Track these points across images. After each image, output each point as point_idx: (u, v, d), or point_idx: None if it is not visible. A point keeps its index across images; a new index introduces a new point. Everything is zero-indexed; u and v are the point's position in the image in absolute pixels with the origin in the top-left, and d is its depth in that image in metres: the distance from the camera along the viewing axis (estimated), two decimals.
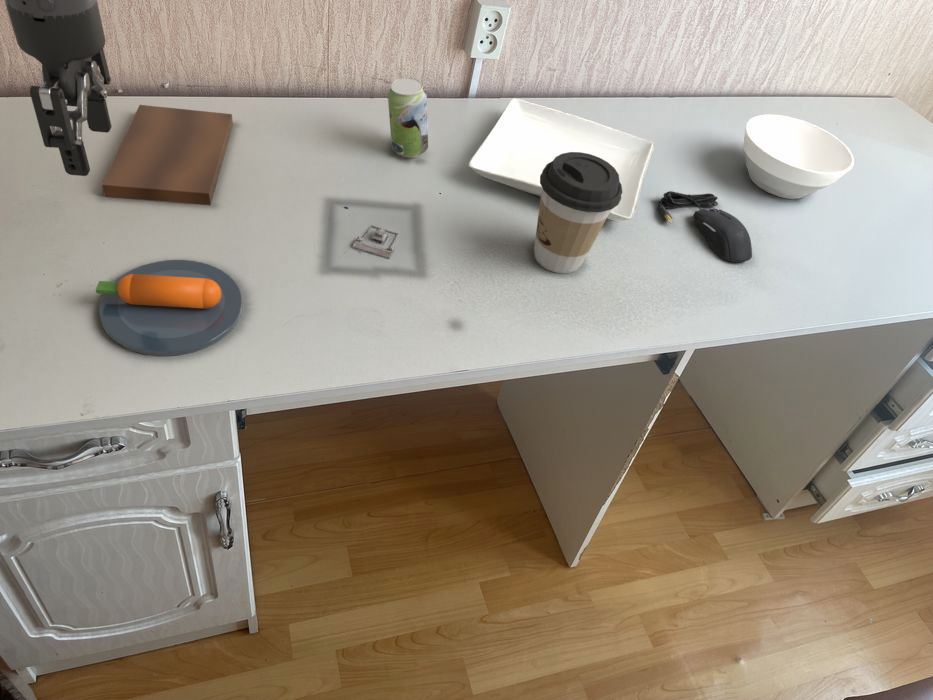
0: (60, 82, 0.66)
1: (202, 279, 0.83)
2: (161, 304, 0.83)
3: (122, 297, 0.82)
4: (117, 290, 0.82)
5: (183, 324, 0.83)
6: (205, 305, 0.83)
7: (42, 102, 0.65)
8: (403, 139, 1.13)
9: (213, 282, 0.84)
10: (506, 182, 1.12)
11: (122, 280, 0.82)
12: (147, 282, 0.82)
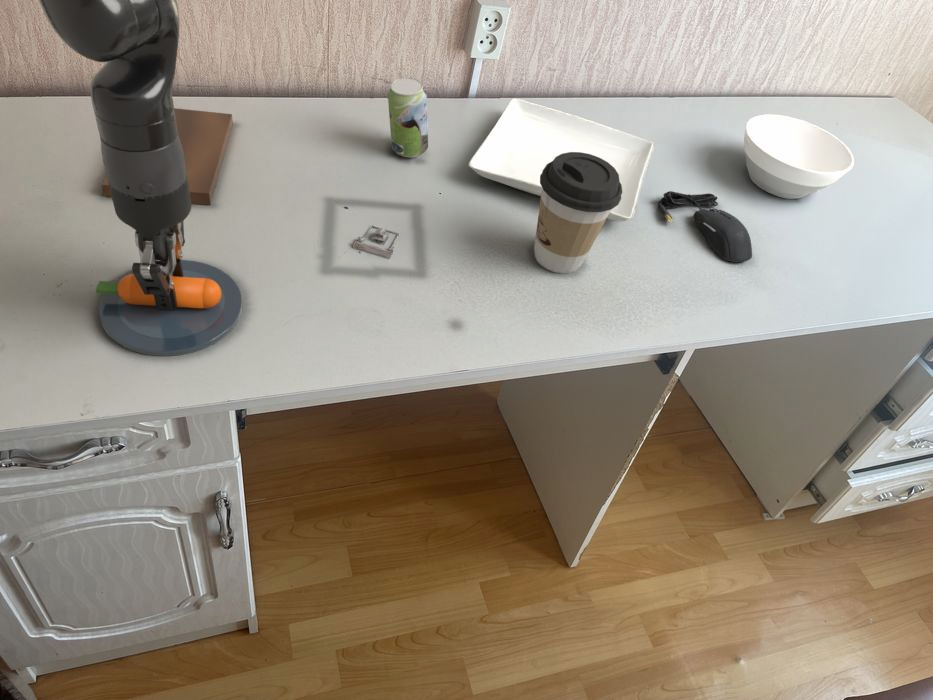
0: (153, 247, 0.74)
1: (202, 279, 0.83)
2: None
3: (122, 297, 0.82)
4: (117, 290, 0.82)
5: (183, 324, 0.83)
6: (205, 305, 0.83)
7: (143, 276, 0.73)
8: (403, 139, 1.13)
9: (213, 282, 0.84)
10: (506, 182, 1.12)
11: (122, 280, 0.82)
12: None
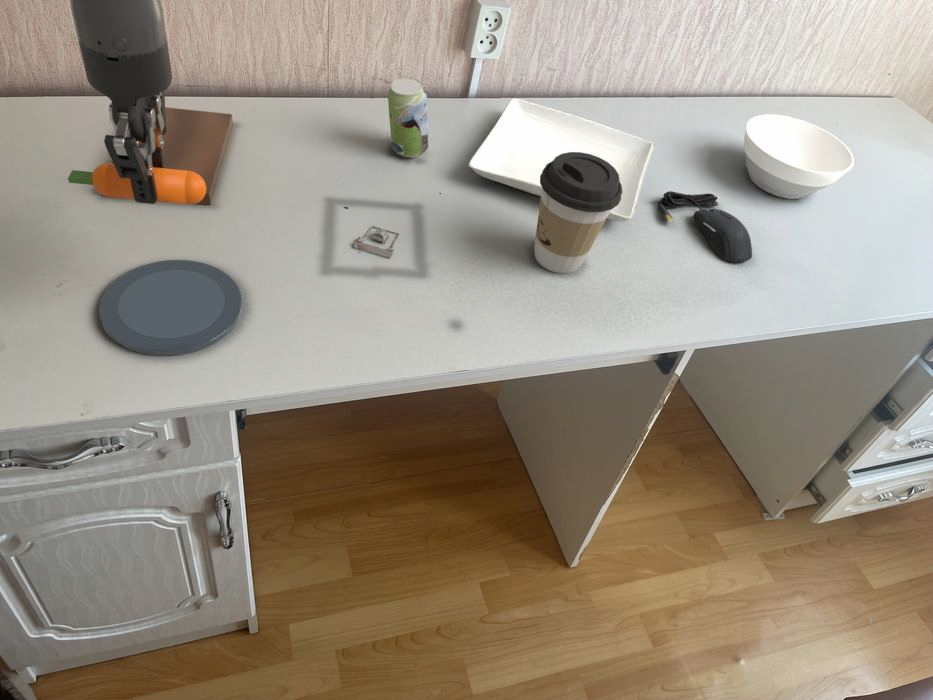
0: (129, 119, 0.66)
1: (185, 171, 0.76)
2: None
3: (97, 187, 0.75)
4: (91, 179, 0.75)
5: (183, 324, 0.83)
6: (188, 199, 0.76)
7: (117, 151, 0.66)
8: (403, 139, 1.13)
9: (197, 175, 0.77)
10: (506, 182, 1.12)
11: (97, 168, 0.74)
12: None
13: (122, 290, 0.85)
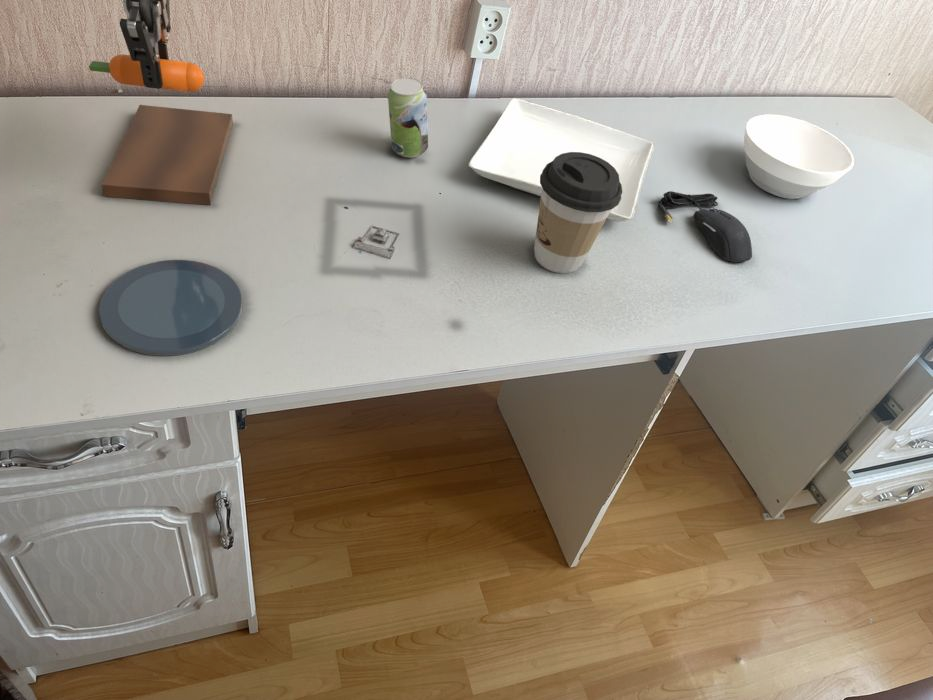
0: (139, 6, 0.81)
1: (186, 62, 0.91)
2: None
3: (113, 74, 0.90)
4: (108, 67, 0.90)
5: (183, 324, 0.83)
6: (188, 85, 0.91)
7: (130, 32, 0.81)
8: (403, 139, 1.13)
9: (196, 65, 0.92)
10: (506, 182, 1.12)
11: (113, 58, 0.89)
12: None
13: (122, 290, 0.85)
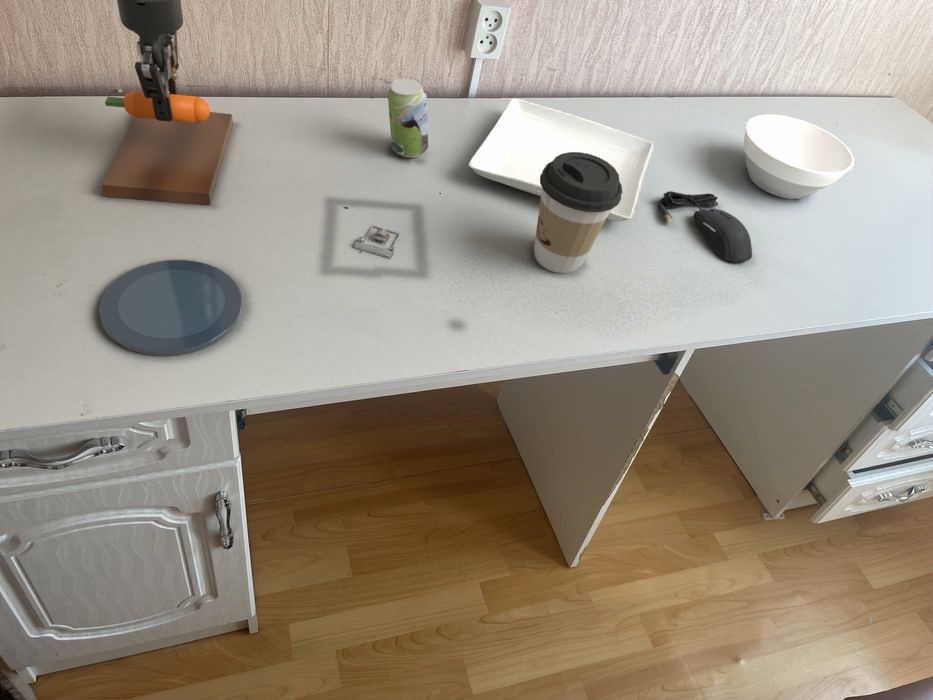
0: (152, 50, 0.90)
1: (193, 96, 1.00)
2: None
3: (127, 108, 0.98)
4: (123, 103, 0.98)
5: (183, 324, 0.83)
6: (196, 118, 1.00)
7: (144, 74, 0.90)
8: (403, 139, 1.13)
9: (203, 99, 1.00)
10: (506, 182, 1.12)
11: (127, 94, 0.98)
12: None
13: (122, 290, 0.85)
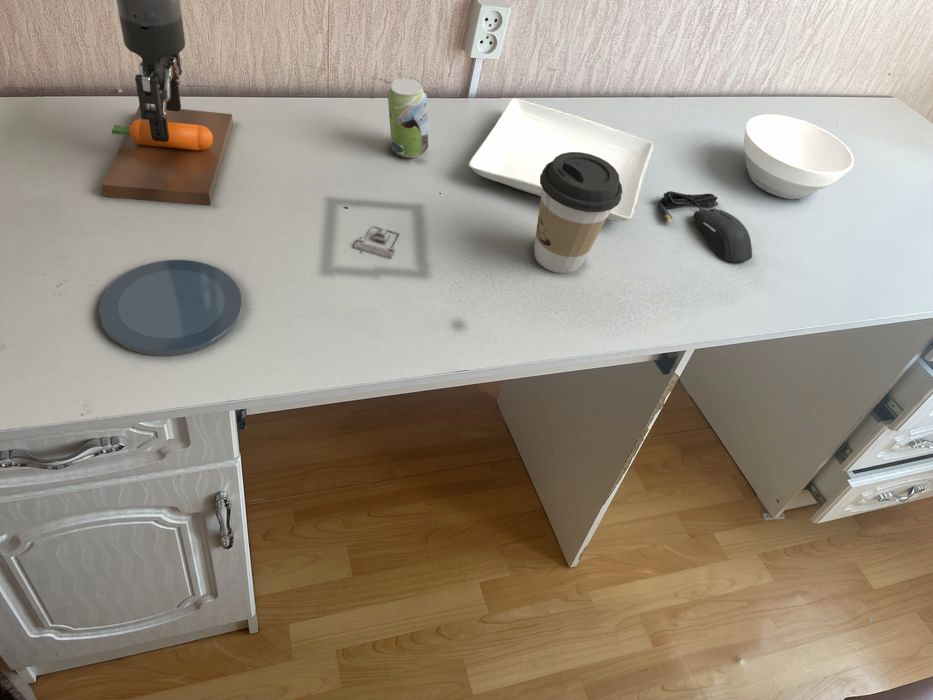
0: (154, 72, 0.92)
1: (197, 125, 1.03)
2: (164, 143, 1.03)
3: (133, 136, 1.02)
4: (129, 131, 1.02)
5: (183, 324, 0.83)
6: (199, 145, 1.03)
7: (143, 86, 0.91)
8: (403, 139, 1.13)
9: (206, 128, 1.04)
10: (506, 182, 1.12)
11: (133, 122, 1.01)
12: None
13: (122, 290, 0.85)
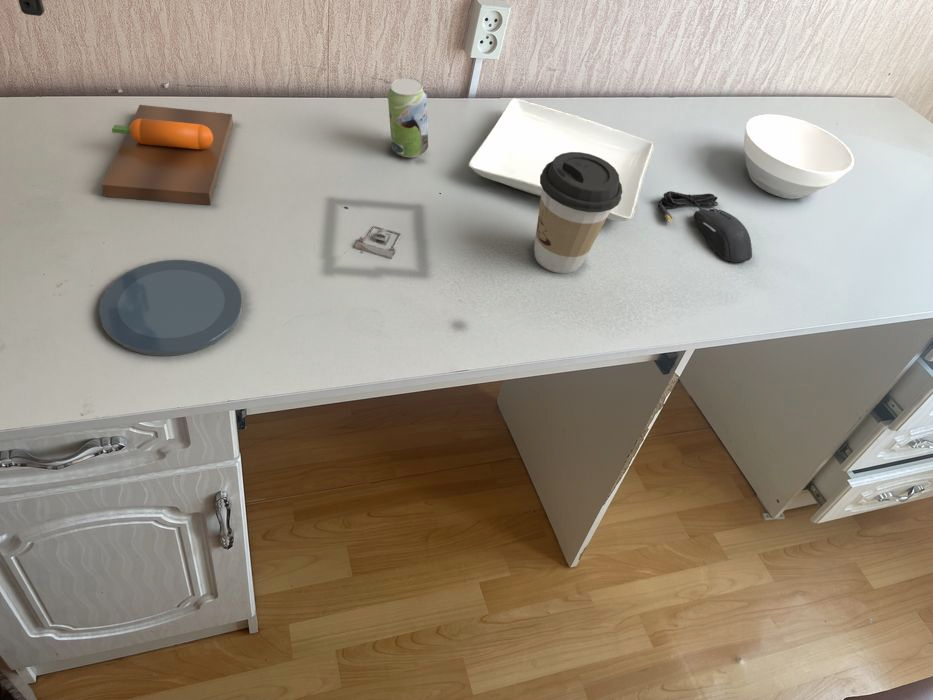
0: None
1: (198, 124, 1.04)
2: (164, 141, 1.03)
3: (133, 134, 1.02)
4: (129, 129, 1.02)
5: (183, 324, 0.83)
6: (200, 143, 1.03)
7: None
8: (403, 139, 1.13)
9: (207, 127, 1.04)
10: (506, 182, 1.12)
11: (134, 121, 1.02)
12: (154, 122, 1.02)
13: (122, 290, 0.85)
